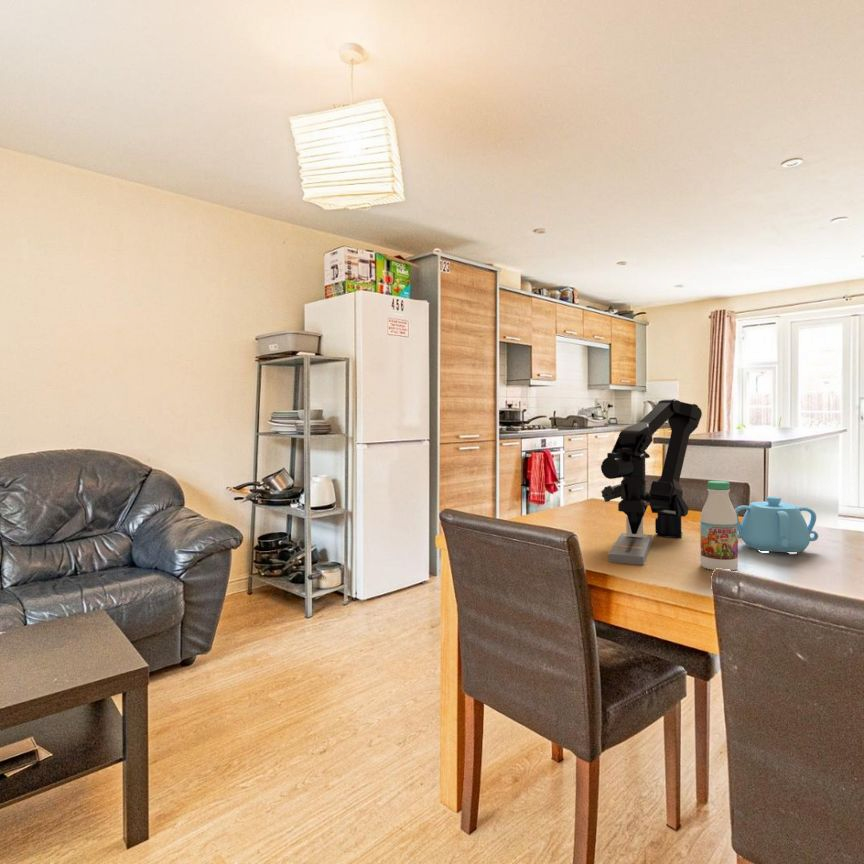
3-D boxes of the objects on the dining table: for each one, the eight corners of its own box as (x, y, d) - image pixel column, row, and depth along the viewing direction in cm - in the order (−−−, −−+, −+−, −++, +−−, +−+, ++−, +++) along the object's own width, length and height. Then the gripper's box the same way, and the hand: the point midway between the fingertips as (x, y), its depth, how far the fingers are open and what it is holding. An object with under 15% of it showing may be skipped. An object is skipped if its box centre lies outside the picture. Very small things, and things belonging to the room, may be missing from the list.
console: (651, 542, 153) (651, 534, 153) (643, 565, 132) (643, 556, 132) (621, 539, 157) (621, 532, 157) (608, 561, 135) (608, 553, 135)
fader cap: (643, 535, 152) (643, 517, 152) (642, 537, 149) (641, 519, 149) (627, 534, 154) (627, 516, 154) (626, 536, 151) (626, 518, 151)
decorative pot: (827, 553, 138) (828, 499, 137) (781, 561, 132) (782, 504, 131) (767, 539, 153) (767, 490, 152) (723, 546, 147) (723, 495, 147)
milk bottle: (693, 563, 132) (693, 480, 131) (724, 562, 133) (724, 478, 132) (712, 573, 124) (712, 484, 123) (745, 571, 125) (745, 483, 124)
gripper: (608, 470, 163) (609, 523, 163) (597, 479, 146) (598, 537, 147) (649, 471, 158) (649, 526, 158) (642, 480, 141) (643, 541, 142)
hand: (634, 532), depth 151 cm, fingers closed on fader cap, 3 cm apart
